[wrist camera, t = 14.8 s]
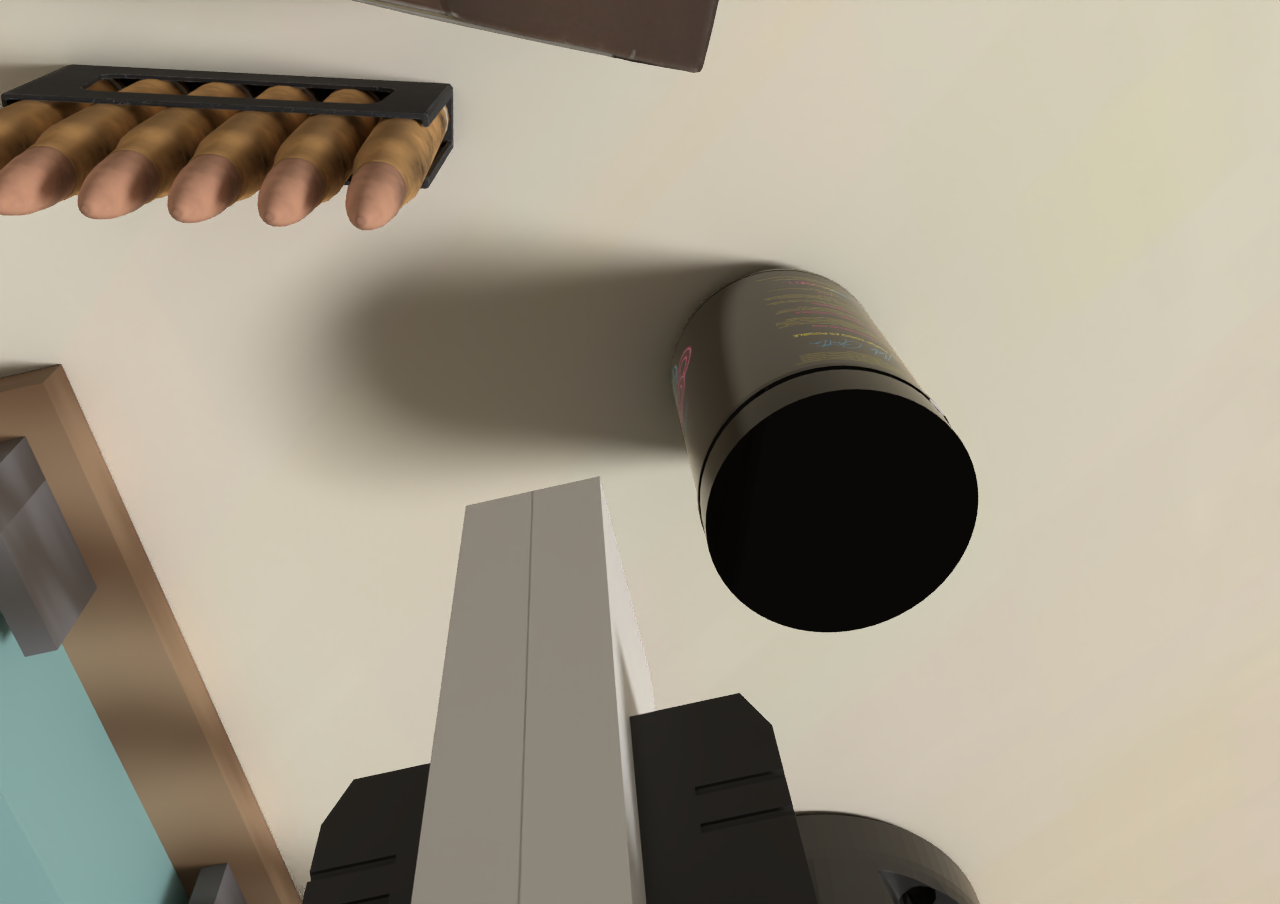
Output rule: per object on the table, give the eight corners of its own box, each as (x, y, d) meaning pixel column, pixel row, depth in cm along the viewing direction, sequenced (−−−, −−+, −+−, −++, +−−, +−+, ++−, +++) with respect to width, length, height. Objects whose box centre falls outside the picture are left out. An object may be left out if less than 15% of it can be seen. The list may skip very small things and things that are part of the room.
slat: (200, 920, 46) (152, 1061, 40) (122, 936, 46) (64, 1079, 40) (-9, 503, 38) (-103, 608, 32) (-102, 524, 38) (-211, 632, 32)
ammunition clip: (74, 131, 35) (-144, 247, 24) (64, 64, 34) (-164, 150, 23) (453, 149, 36) (410, 268, 25) (453, 84, 35) (408, 176, 24)
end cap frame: (327, 958, 49) (304, 1069, 44) (109, 1003, 49) (64, 1117, 45) (61, 364, 38) (-6, 430, 33) (-219, 426, 38) (-323, 501, 33)
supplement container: (658, 271, 38) (694, 404, 28) (876, 248, 38) (984, 373, 28) (675, 467, 41) (713, 647, 31) (877, 445, 41) (975, 617, 31)
